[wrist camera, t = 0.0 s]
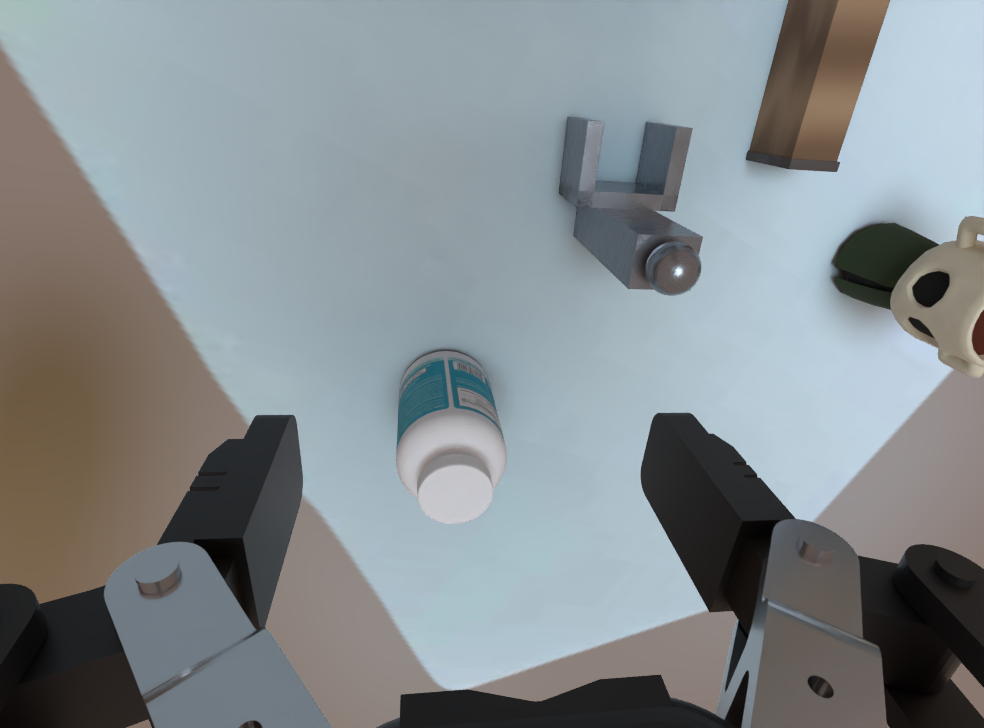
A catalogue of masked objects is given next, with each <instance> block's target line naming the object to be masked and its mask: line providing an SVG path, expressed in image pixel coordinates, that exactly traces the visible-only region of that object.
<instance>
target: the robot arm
mask: <svg viewBox="0 0 984 728" xmlns="http://www.w3.org/2000/svg"><path fill="white" fill-rule="evenodd" d="M198 473H199V475H198V476H196V478H195V480H194V481H193V483H192V485H191V486H190V491H188V492H187V493H186V495H185V497H184V498H183V500H182V502H181V504H180V505H179V508H178V509H177V511H176V512H175V514H174V516H173V518H172V520H171V521H170V523H169V525H168V526H167V528H166V530H165V532H164V533H163V535H162V537H161V539H160V540H159V542H158V544H157V546H153V547H151V548H148V549H145V550H143V551H141V552H140V553H137V554H136V555H134V556H132V557H131V558H129V559H128V560H126V561H125V562H124V563H123V564H121V565H120V566H119V567H118V568H117V569H116V570H115V571H114V573H113V574H112V575H111V576H110V578H109V580H108V581H107V584H106V585H105V586H102V587H99V588H96V589H93V590H90V591H86V592H82V593H79V594H75V595H71V596H68V597H64V598H60V599H57V600H53V601H50V602H46V603H42V604H39V603H38V600H37V598H36V596H35V594H34V593H33V592H32V590H30V589H29V588H27V587H25V586H22V585H17V584H0V728H126V727H128V726H131V725H134V724H137V723H139V722H142V721H145V720H147V719H149V721H150V724H151V726H152V728H332V726H331V725H330V723H329V722H328V720H327V719H326V717H325V716H324V714H323V713H322V711H321V709H320V708H319V707H318V705H317V703H316V702H315V701H314V699H313V697H312V696H311V694H310V693H309V691H308V690H307V688H306V686H305V685H304V683H303V682H302V680H301V679H300V677H299V676H298V674H297V673H296V671H295V670H294V668H293V667H292V665H291V663H290V662H289V660H288V659H287V657H286V656H285V654H284V653H283V651H282V650H281V648H280V647H279V645H278V643H277V642H276V640H275V639H274V638H273V636H272V635H271V633H270V632H269V631H268V630H267V629H266V628H265V625H266V621H267V618H268V614H269V610H270V607H271V603H272V600H273V597H274V593H275V590H276V586H277V582H278V579H279V576H280V572H281V569H282V565H283V562H284V558H285V555H286V551H287V548H288V544H289V541H290V537H291V534H292V530H293V527H294V524H295V520H296V517H297V513H298V510H299V506H300V502H301V497H302V487H303V475H302V465H301V456H300V448H299V439H298V430H297V423H296V419H295V416H294V415H257V416H255V417H254V419H253V421H252V423H251V425H250V427H249V429H248V431H247V433H246V435H245V437H244V439H228V440H227V441H225V442H224V443H223V444H222V445H220V446H219V447H218V448H216V449H215V450H214V451H213V452H211V453H210V454H209V455H208V457H207V459H206V460H205V462H204V464H203V465H202V467H201V469H200V471H199V472H198ZM641 484H642V488H643V491H644V494H645V496H646V498H647V500H648V501H649V503H650V505H651V507H652V509H653V510H654V512H655V514H656V516H657V518H658V519H659V521H660V523H661V525H662V527H663V529H664V530H665V532H666V534H667V536H668V538H669V539H670V541H671V543H672V545H673V547H674V548H675V550H676V552H677V554H678V556H679V557H680V559H681V561H682V563H683V565H684V567H685V568H686V570H687V572H688V574H689V576H690V577H691V579H692V581H693V583H694V585H695V586H696V588H697V590H698V592H699V594H700V596H701V597H702V599H703V601H704V603H705V605H706V606H707V608H708V610H709V612H721V611H733V612H734V613H735V615H736V616H737V618H738V620H737V622H736V625H735V627H734V630H733V634H732V639H731V643H730V648H729V653H728V658H727V663H726V668H725V672H724V677H723V682H722V687H721V692H720V697H719V701H718V706H717V710H716V713H715V714H713V713H711V712H710V711H708V710H706V709H703V708H701V707H699V706H696V705H694V704H692V703H689V702H685V701H682V700H679V699H676V698H671V697H670V696H669V694H668V691H667V689H666V686H665V684H664V682H663V679H662V677H661V675H651V676H638V677H626V678H612V679H600V680H597V681H595V682H592V683H589V684H586V685H584V686H581V687H579V688H576V689H573V690H571V691H568V692H565V693H563V694H560V695H558V696H555V697H552V698H549V699H547V700H544V701H538V702H534V701H527V700H522V699H516V698H511V697H505V696H500V695H494V694H489V693H483V692H478V691H473V690H455V691H442V692H430V693H416V694H405V695H401V702H400V703H401V704H400V718H397V719H395V720H392V721H390V722H387V723H385V724H383V725H381V726H379V727H377V728H887V724H888V726H889V727H890V728H984V718H983V717H982V716H981V715H980V714H979V712H978V711H977V710H976V709H975V708H974V706H973V705H972V704H971V703H970V702H969V700H968V699H967V698H966V697H965V696H964V695H963V693H962V692H961V691H960V690H959V688H958V687H957V686H956V685H955V684H954V683H953V681H952V680H951V679H950V678H951V677H952V675H953V674H954V672H955V671H956V670H957V668H958V667H959V665H960V664H961V663H963V665H965V667H966V668H967V669H968V670H969V671H970V672H971V674H972V675H973V676H974V677H975V678H976V679H977V680H978V682H979V683H980V684H981V685H982V686H983V687H984V569H982V568H981V567H980V566H978V565H977V564H975V563H974V562H972V561H971V560H969V559H967V558H965V557H963V556H961V555H959V554H957V553H955V552H953V551H950V550H947V549H944V548H941V547H937V546H933V545H925V544H920V545H913V546H911V547H909V548H908V549H907V550H906V551H905V553H904V555H903V557H902V559H901V561H900V562H899V564H896V563H891V562H886V561H881V560H877V559H871V558H866V557H862V556H857V554H856V552H855V551H854V549H853V548H852V547H851V546H850V545H849V544H848V543H847V542H846V541H845V540H844V539H843V538H841V537H840V536H839V535H837V534H836V533H834V532H833V531H831V530H829V529H827V528H825V527H823V526H821V525H818V524H816V523H813V522H810V521H805V520H799V519H795V517H794V516H793V515H792V514H791V513H790V512H789V510H788V509H787V508H786V507H785V506H784V505H783V504H782V502H781V501H780V500H779V499H778V498H777V497H776V496H775V494H774V493H773V492H772V491H771V490H770V489H769V488H768V486H767V485H766V484H765V483H764V482H763V481H762V479H761V478H757V474H756V473H755V471H754V470H753V469H752V468H751V467H750V466H749V465H746V461H745V460H744V459H743V458H742V457H741V455H740V454H739V453H738V452H737V451H736V450H735V448H734V447H733V446H731V445H729V444H728V443H726V442H725V441H723V440H722V439H720V438H719V437H717V436H716V435H714V434H709V433H708V432H707V431H706V430H705V429H704V427H703V426H702V425H701V424H700V423H699V421H698V420H697V419H696V418H695V417H694V416H693V415H692V414H691V413H657V414H656V415H655V416H654V418H653V420H652V424H651V428H650V432H649V436H648V441H647V445H646V449H645V453H644V458H643V462H642V466H641Z"/></svg>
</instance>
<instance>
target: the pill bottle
mask: <svg viewBox="0 0 984 728" xmlns="http://www.w3.org/2000/svg"><path fill="white" fill-rule="evenodd" d="M396 461H397V470H398V474H399V477H400V479H401V481H402V483H403V485H404V486H405V488H406V489H407V490H408V491H409V492H410V493H411V494H412V495H413V496H415V497H416V498H417V499H418V502H419V506H420V507H421V509H422V511H423V512H424V513H425V514H426V515H427V516H428V517H430V518H432V519H433V520H436V521H438V522H441V523H447V524H458V523H464V522H467V521H470V520H472V519H475V518H476V517H478V516H479V515H481V514H482V513H483V512H484V511H485V510H486V509H487V508H488V506H489V505H490V503H491V500H492V497H493V489H494V488H495V487H496V485H497V484H498V483H499V481H500V480H501V478H502V476H503V473H504V471H505V467H506V461H507V452H506V447H505V442H504V438H503V434H502V430H501V426H500V422H499V419H498V415H497V411H496V407H495V403H494V399H493V395H492V391H491V388H490V384H489V381H488V378H487V375H486V373H485V372H484V370H483V369H482V367H481V366H480V365H479V364H478V363H477V362H476V361H475V360H473V359H472V358H470V357H468V356H466V355H464V354H461V353H458V352H452V351H440V352H434V353H431V354H428V355H425V356H423V357H421V358H420V359H418V360H417V361H415V362H414V363H413V364H412V365H411V366H410V367H409V368H408V370H407V371H406V373H405V374H404V376H403V378H402V381H401V384H400V390H399V409H398V433H397V459H396Z"/></svg>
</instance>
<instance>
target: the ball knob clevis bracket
mask: <svg viewBox="0 0 984 728" xmlns="http://www.w3.org/2000/svg"><path fill="white" fill-rule="evenodd" d="M603 128H604V122H601V121H596V120H590V119H585V118H576V117H568V119H567V127H566V136H565V145H564V153H563V162H562V170H561V179H560V187H559V194H560V195H562V196H563V197H564V198H566V199H567V200H568V201H569V202H571V203H572V204H573V205H575V206H576V207H577V213H576V221H575V228H574V237H575V238H576V239H577V240H578V241H579V242H580V243H581V244H582V245H584V246H585V247H586V248H587V249H588V250H589V251H590V252H591V253H592V254H593V255H594V256H595V257H596V258H597V259H598V260H599V261H600V262H601V263H602V264H603V265H604V266H605V267H606V268H607V269H608V270H609V271H610V272H611V273H612V274H614V275H615V276H616V277H617V278H618V279H619V280H620V281H621V282H622V283H623V284H624V285H625V286H626V287H627V288H628V289H653V290H656V291H657V292H659V293H661V294H664V295H670V296H673V295H679V294H682V293H685V292H687V291H688V290H690V289H691V288H692V287H693V286H694V285H695V284H696V282H697V281H698V279H699V277H700V273H701V261H700V258H699V251H700V247H701V243H702V239H703V237H702V236H700V235H698V234H696V233H695V232H693V231H691V230H689V229H687V228H685V227H683V226H681V225H679V224H678V223H676V222H674V221H672V220H670V219H668V218H666V217H664V216H662V215H661V214H659V213H657V212H655V211H675V208H676V203H677V199H678V194H679V189H680V185H681V180H682V175H683V170H684V166H685V161H686V156H687V152H688V147H689V142H690V138H691V133H692V128H688V127H682V126H675V125H668V124H662V123H649V122H647V123H646V128H645V134H644V140H643V145H642V151H641V157H640V162H639V168H638V173H637V179H636V183H631V182H612V181H596V176H597V169H598V162H599V155H600V148H601V141H602V135H603ZM653 210H654V211H653Z"/></svg>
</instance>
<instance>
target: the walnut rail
mask: <svg viewBox="0 0 984 728" xmlns="http://www.w3.org/2000/svg"><path fill="white" fill-rule="evenodd" d="M889 3H890V0H789V1H788V5H787V9H786V13H785V16H784V20H783V24H782V28H781V32H780V35H779V39H778V43H777V47H776V51H775V55H774V58H773V62H772V66H771V70H770V74H769V78H768V81H767V85H766V89H765V93H764V97H763V100H762V104H761V108H760V112H759V116H758V120H757V123H756V127H755V131H754V135H753V139H752V143H751V146H750V150H749V151H748V153H747V157H746V160H750V161H755V162H759V163H764V164H768V165H773V166H777V167H782V168H786V169H795V170H812V171H829V172H837V170H838V167H839V164H840V162H837V159H838V156H839V153H840V150H841V147H842V144H843V141H844V138H845V135H846V132H847V129H848V126H849V123H850V120H851V117H852V114H853V111H854V108H855V105H856V102H857V99H858V96H859V93H860V90H861V87H862V84H863V81H864V78H865V75H866V72H867V69H868V66H869V63H870V60H871V57H872V54H873V51H874V48H875V45H876V42H877V39H878V36H879V33H880V30H881V27H882V24H883V21H884V18H885V15H886V12H887V9H888V6H889Z"/></svg>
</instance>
